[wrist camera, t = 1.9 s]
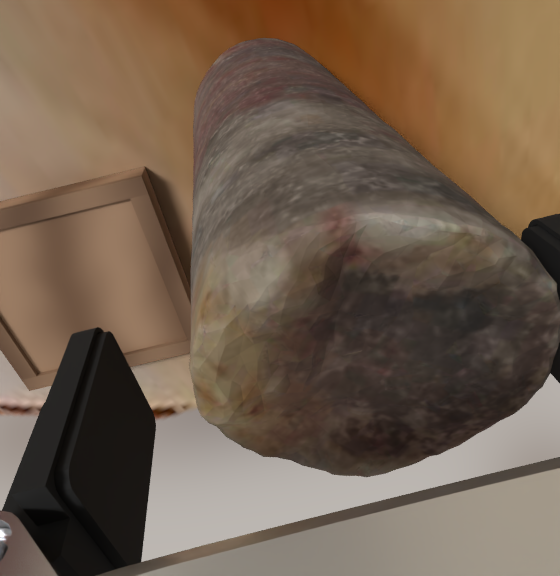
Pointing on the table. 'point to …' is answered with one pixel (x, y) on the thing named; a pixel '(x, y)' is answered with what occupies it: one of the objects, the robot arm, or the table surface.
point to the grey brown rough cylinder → (347, 279)
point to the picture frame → (89, 274)
